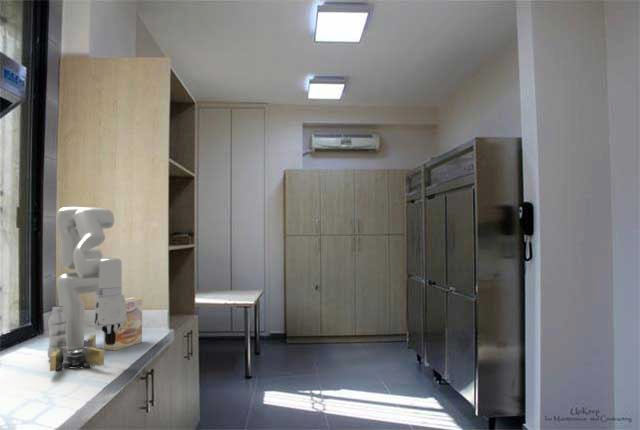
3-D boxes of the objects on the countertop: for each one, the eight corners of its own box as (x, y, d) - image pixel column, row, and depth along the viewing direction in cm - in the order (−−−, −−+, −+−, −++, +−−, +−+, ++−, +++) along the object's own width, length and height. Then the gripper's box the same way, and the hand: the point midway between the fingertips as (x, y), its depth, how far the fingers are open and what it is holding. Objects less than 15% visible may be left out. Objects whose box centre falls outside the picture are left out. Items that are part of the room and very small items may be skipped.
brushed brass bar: (54, 369, 153) (55, 348, 153) (63, 368, 154) (64, 347, 154) (47, 379, 142) (48, 356, 143) (57, 378, 143) (57, 355, 144)
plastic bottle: (71, 357, 168) (72, 305, 169) (55, 362, 162) (56, 308, 162) (59, 355, 170) (59, 304, 171) (43, 360, 164) (43, 307, 165)
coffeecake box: (115, 350, 176) (115, 303, 177) (102, 349, 179) (103, 302, 180) (142, 342, 190) (143, 297, 191) (130, 340, 193) (130, 297, 194)
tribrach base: (56, 368, 154) (57, 353, 154) (81, 360, 163) (81, 346, 164) (74, 371, 151) (74, 356, 151) (98, 363, 160) (98, 348, 160)
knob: (91, 360, 163) (91, 340, 163) (82, 361, 162) (83, 341, 162) (97, 353, 173) (97, 334, 174) (89, 353, 172) (89, 334, 173)
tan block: (80, 368, 153) (81, 347, 154) (88, 366, 156) (88, 345, 156) (97, 373, 147) (97, 351, 148) (105, 371, 150) (105, 349, 150)
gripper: (95, 295, 147) (95, 349, 146) (135, 290, 160) (135, 340, 159) (84, 294, 151) (83, 347, 150) (123, 289, 164) (123, 338, 163)
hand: (110, 343), depth 154 cm, fingers closed
